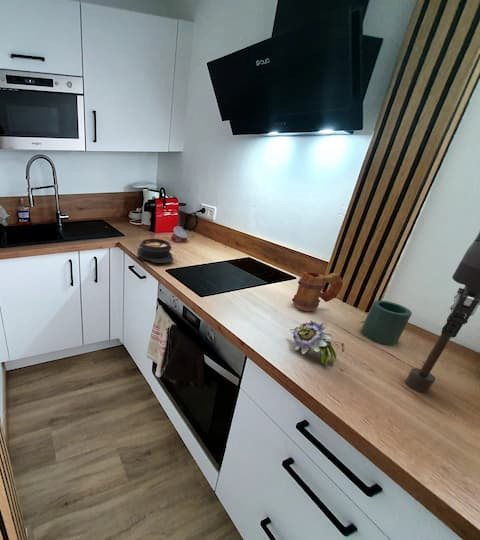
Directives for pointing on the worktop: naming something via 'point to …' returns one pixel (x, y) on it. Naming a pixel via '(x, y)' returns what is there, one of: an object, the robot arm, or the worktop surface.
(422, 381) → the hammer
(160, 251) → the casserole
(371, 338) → the green pencil cup
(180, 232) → the canned food
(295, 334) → the passion flower
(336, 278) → the mug
